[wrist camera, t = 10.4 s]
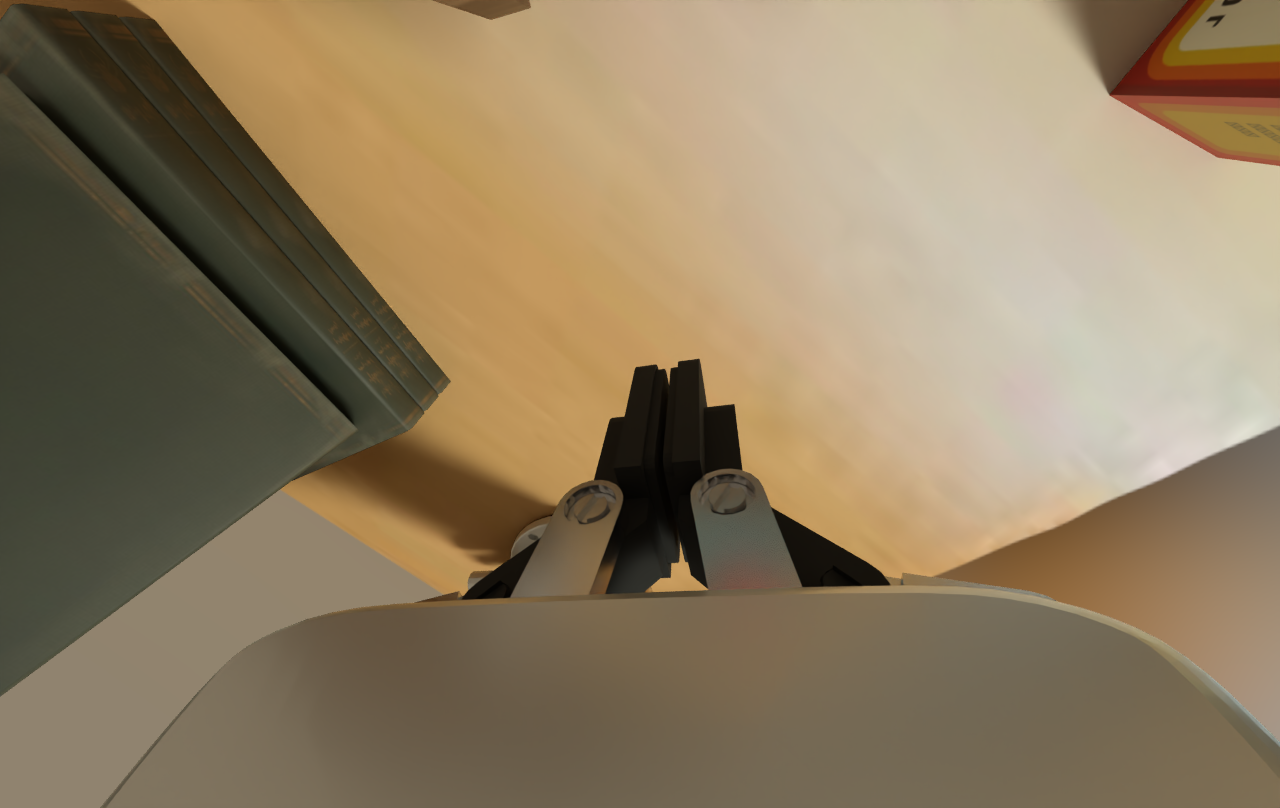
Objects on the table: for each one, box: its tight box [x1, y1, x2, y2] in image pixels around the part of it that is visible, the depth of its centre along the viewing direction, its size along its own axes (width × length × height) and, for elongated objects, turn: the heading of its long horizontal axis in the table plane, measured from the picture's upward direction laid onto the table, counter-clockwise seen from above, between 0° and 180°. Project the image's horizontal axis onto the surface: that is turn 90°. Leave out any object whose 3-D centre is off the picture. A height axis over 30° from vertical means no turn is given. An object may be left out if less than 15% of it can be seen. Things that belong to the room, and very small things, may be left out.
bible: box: [0, 4, 451, 696], centre depth 22 cm, size 23×20×25 cm
